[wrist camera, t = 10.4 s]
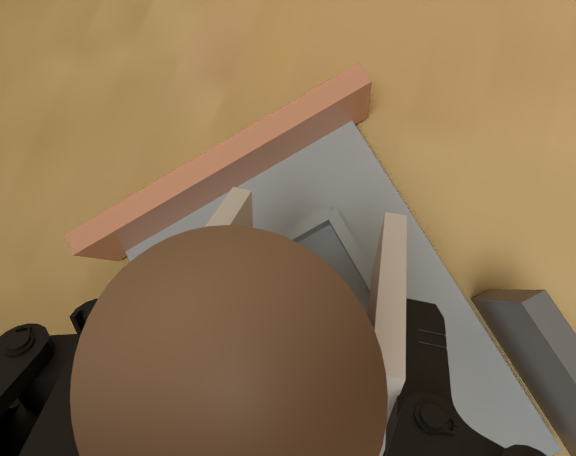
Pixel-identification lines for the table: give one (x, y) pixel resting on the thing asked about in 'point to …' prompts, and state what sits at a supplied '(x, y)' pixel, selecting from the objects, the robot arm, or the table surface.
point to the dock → (537, 351)
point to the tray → (326, 232)
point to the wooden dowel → (228, 354)
